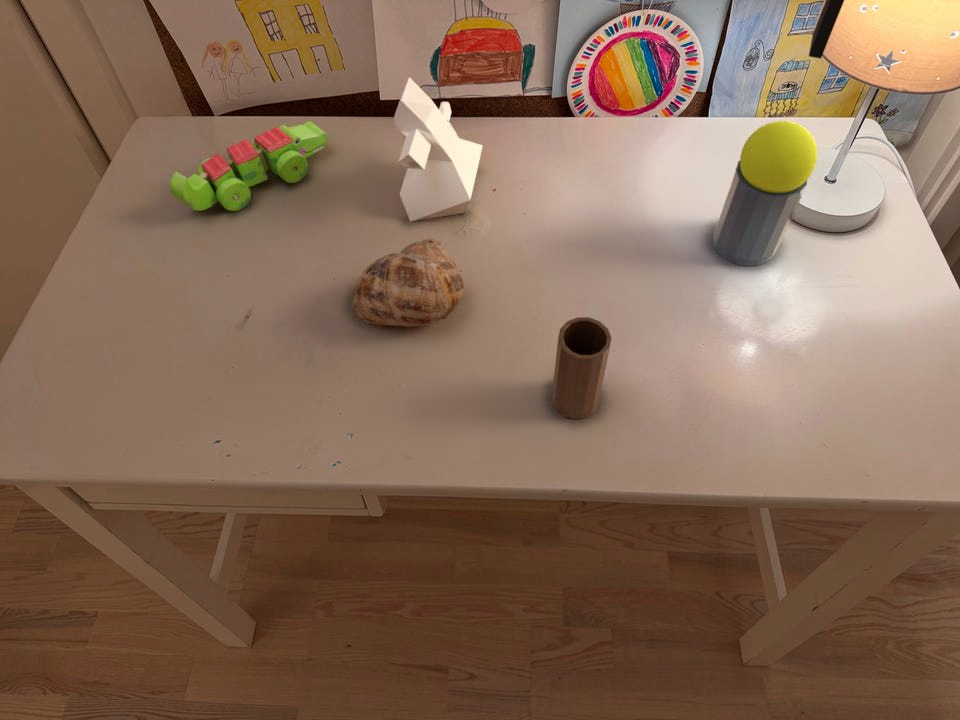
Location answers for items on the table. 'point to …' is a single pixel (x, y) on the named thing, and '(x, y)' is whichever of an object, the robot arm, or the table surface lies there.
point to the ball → (778, 157)
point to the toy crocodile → (249, 167)
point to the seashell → (409, 286)
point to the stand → (580, 366)
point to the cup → (753, 221)
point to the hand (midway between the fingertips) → (930, 65)
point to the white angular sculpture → (433, 158)
